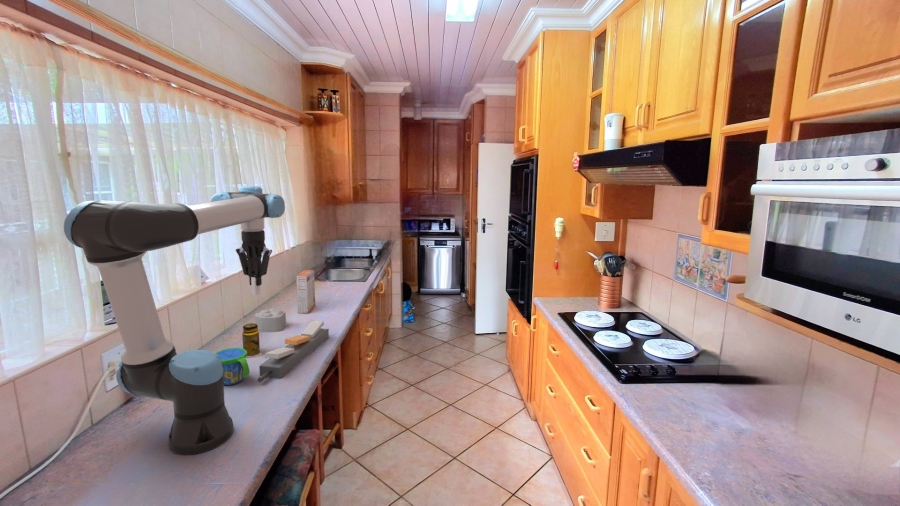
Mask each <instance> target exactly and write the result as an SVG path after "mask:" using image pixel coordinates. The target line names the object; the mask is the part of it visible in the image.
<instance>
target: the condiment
mask: <svg viewBox="0 0 900 506" xmlns="http://www.w3.org/2000/svg"><path fill="white" fill-rule="evenodd" d="M241 337H242V349H245V350H246V351H247V357H246V358H251V357H256V356H261V355H263V353H262V351H261V348H260V331H258V325H257V324H255V322H254V323H246V324H244V325H243V326H242V335H241Z"/></svg>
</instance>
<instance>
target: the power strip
mask: <svg viewBox="0 0 900 506" xmlns="http://www.w3.org/2000/svg"><path fill="white" fill-rule="evenodd" d="M329 330H330V329H329V328H322V327H321V328H320V330H319V331H318V332H317V333H316V335H315V336H314V337H313V338H310V340H309V341H306V342H303V343H300V344H298V345H293V344H286V346H285V347H284V348H294V353H292V354H289V355H287V356H284V357H282V358H279V359H275V358H268V359H266V360H265V361H264V362H263V363H261V364H260V365H258V366H259V377H258V379H257V381H258V382H259V383H261V382H264V380H265V379H267V378H271V379H272V378H273V379H282V378H283V377H284V376H285V375H286V374H287V373H289V372H290V371H291V370H293V368H295V367H296V366H297V365H298V364H299V363H301V362H302V361H304V359H305V358H306V357H308V356H309V355H310V354H311V353H313V351H314V350H315V349H317V348H318V347H320V345H322V344H323V343H325V341H327V340H328V339H329V338H328V337H330V335H329Z"/></svg>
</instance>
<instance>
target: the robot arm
mask: <svg viewBox="0 0 900 506" xmlns="http://www.w3.org/2000/svg"><path fill="white" fill-rule="evenodd" d="M285 204H286V203H285V200H284V198H283V197H282V196H281V195H279V194H277V193H276V194H275V193H264V192H263V188H262V187H261V186H257V185H256V186H253V185H251V186H250V185H246V186H245V185H241V186H239V188H238V192H236V191H235V192H234V191H233V192H231V191H230V192H228V191H226V192H225V191H222V192H216V193H214V194H212V196H211V198H210V200H209V202H203V203H197V204H192V205H190V204H189V205H187V204H185V203H181V202H178V203H169V204H168V203H167V204H165V203H149V202H140V201H138V202H137V201H120V200H108V199H99V200H96V199H95V200H88V201H83V202H79V204H77V205H75V206H74V207H72V208H71V209H70V211H69V212H68V214H66V216H65V218H64V222H63V233H64V235H65V237H66V239H67V241H68V242H69V243H70V244H72V245H74V246H75V247H78V248H80V249H82V251H83V254H84V255H85V256H84V257H85V259H86V262H87V263H88V264H90V265H93V266H95V267H97V268H98V271H99V274H100V278H101V280H102V283H103V285H104V289H105V293H106V295H107V298H108V301H109V305H110V307H111V310H112V313H113V316H114V319H115V322H116V325H117V327H118V331H119V334H120V337H121V340H122V343H123V346H124V348H125V349H124V350H125V351H124V352H122V355H121V356H120V362H119V364H118V367H119V368H118V369H117V370H116V373H115V375H116V376H115V377H116V382H117V384H118V386H119V387H120V389H121V390H123V392H126V393H127V394H131V395H133V396H135V397H142V398H148V399H149V398H151V399H156V400H164V401H168V402H172V404H173V405H172V407H173V413H174V414H173V415H174V416H173V417H174V418H173V421H172V424H171V427H170V431H169V434H168V437H167V438H168V448H169V450H170V451H171V452H173V454H177V455H183V456H184V455H185V456H186V455H187V456H189V455H197V454H201V453H205V452H208V451H211V450H213V449H215V448H217V447H219V446H221V445H223V444H224V443H225V442H227V441H228V440H229V439H230V438H231V437H232V435H233V433H234V431H235V430H234V421H233V419H232V417H231V416H230V414H229V412H228V409H227V406H226V405H225V401H226V400H225V386H224V381H223V367H222V362H221V358H220V357H219V355H217V354H216V352H214V351H211V350H207V349H197V350H194V349H191V350H186V351H182V352H179V353H178V352H177V351H176V348H175V344H174V343H175V342H173V340H171V339H167V338H166V337H165V334H164V331H163V326H162V324H161V320H160V317H159V314H158V310H157V306H156V303H155V299H154V297H153V293H152V292H153V291H152V290H151V286H150V282H149V280H148V276H147V272H146V269H145V266H144V261H143V257H144V256H145V254H146V253H147V252H151V251H156V250H160V249H161V250H162V249H165V248H168V247H171V246H172V247H173V246H175V245H180V244H184V243H187V242H191V241H193V240H195V239H196V238H197V236H198V235H201V234H205V233H208V232H209V233H210V232H213V231H218V230H221V229H224V228H228V227H229V228H230V227H233V226H237V225H240V229H241V231H240V232H241V234H240V236H241V241H242V243H241V246H240V247H239V248H236V249H235V252H236V255H238V258H239V262H240V265H241V269H242V272H243V275H244V276H248V278H249V280H248V282H249V285H250V286H251V295H252V296H258V295H260V294H261V285H262V284H263V282H262V277H263V276H265V275H267V273H268V268H269V262H270V257H271V255H272V253H273V250H272V249H269V248H267V247H266V244H265V240H266V235H265V234H266V232H265V230H264V229H265V218H266V219H267V218H270V219H274V218H275V219H278V218H280V217H282V216H283V215H284V213H285V210H286V205H285Z"/></svg>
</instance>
